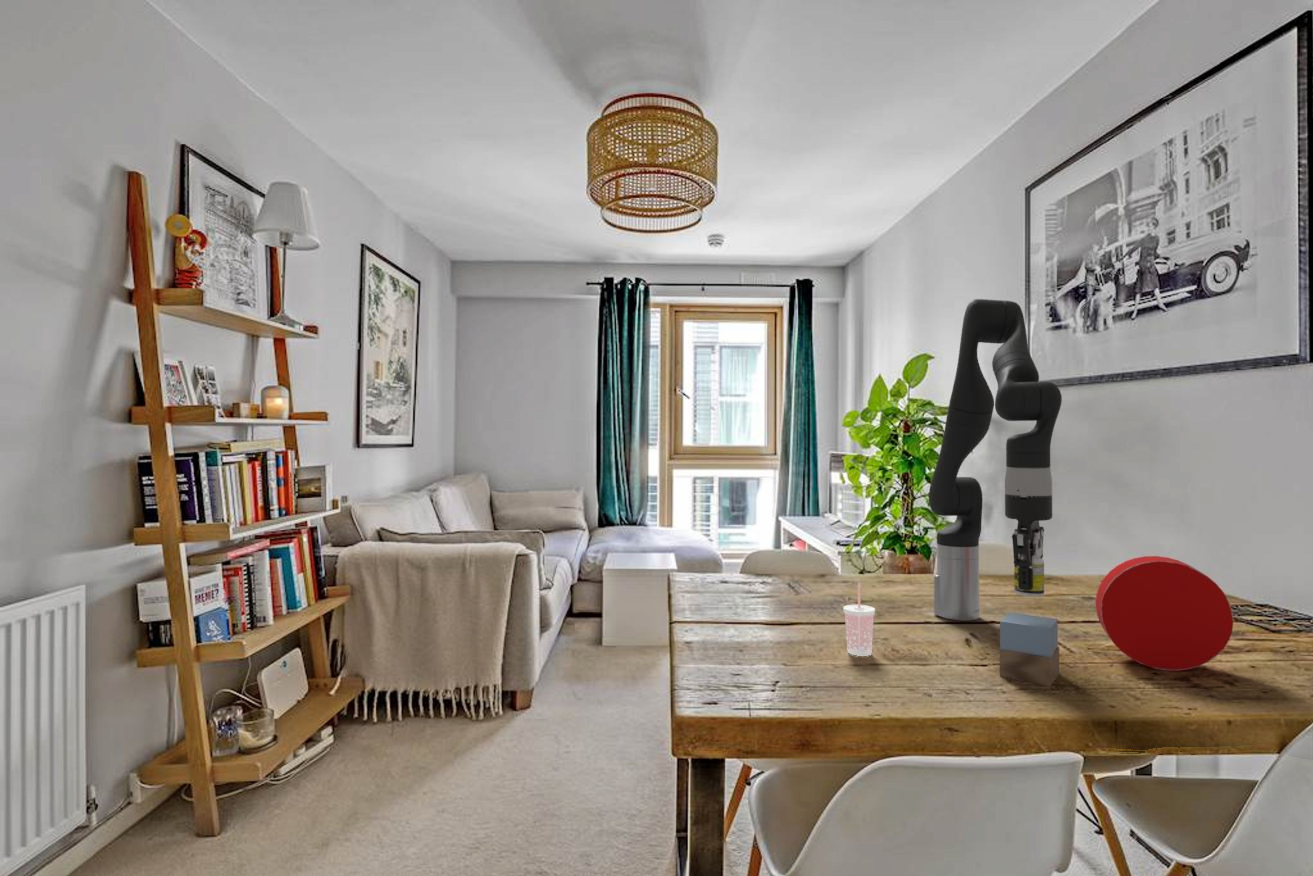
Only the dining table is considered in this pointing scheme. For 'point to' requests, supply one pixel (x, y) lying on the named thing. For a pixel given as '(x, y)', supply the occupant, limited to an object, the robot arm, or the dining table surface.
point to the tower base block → (1029, 667)
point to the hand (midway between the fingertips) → (1028, 586)
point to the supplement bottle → (1037, 577)
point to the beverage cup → (859, 628)
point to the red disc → (1164, 613)
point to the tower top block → (1029, 634)
